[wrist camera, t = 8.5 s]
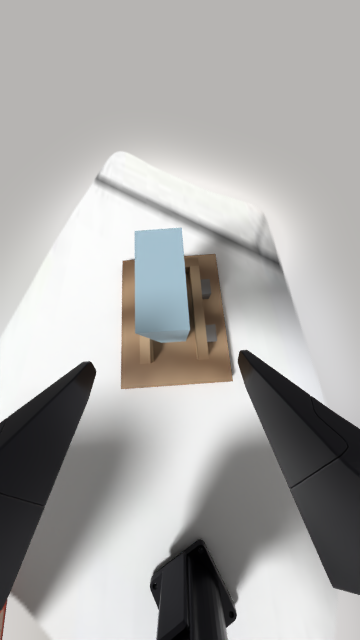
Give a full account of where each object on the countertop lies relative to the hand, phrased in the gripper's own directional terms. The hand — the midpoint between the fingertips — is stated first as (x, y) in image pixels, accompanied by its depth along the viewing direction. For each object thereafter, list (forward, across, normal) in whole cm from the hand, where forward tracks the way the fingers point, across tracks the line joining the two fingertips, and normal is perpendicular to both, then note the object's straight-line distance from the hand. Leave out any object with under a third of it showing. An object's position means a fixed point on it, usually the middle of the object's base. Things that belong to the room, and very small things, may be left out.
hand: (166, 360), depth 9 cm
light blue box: (+11, 0, +3) cm, 12 cm away
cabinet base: (+12, 0, +4) cm, 12 cm away
